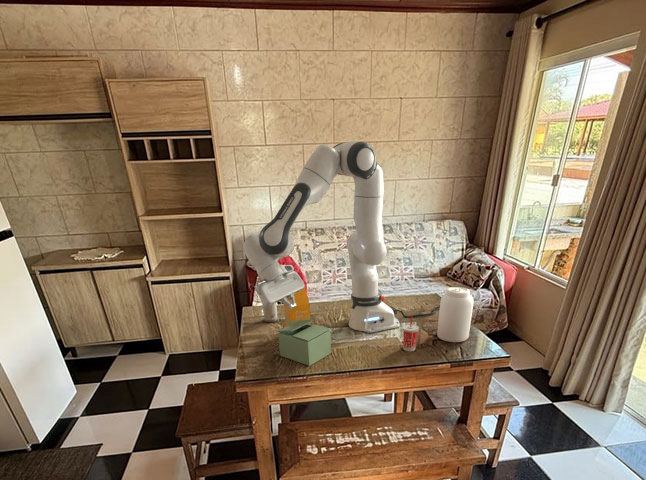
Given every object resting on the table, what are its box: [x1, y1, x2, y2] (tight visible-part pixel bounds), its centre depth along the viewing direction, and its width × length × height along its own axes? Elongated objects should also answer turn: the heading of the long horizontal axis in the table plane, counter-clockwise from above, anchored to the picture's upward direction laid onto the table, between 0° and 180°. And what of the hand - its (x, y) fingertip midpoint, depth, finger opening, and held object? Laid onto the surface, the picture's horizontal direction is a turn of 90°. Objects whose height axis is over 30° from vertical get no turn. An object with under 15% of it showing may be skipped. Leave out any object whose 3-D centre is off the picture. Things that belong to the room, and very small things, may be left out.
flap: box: [277, 319, 315, 333], centre depth 154 cm, size 7×13×1 cm, turn 141°
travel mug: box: [259, 279, 279, 323], centre depth 185 cm, size 6×7×20 cm
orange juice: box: [283, 287, 312, 327], centre depth 169 cm, size 8×9×20 cm
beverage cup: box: [402, 314, 420, 352], centre depth 155 cm, size 6×6×14 cm
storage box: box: [277, 324, 332, 367], centre depth 155 cm, size 15×13×10 cm
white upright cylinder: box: [436, 286, 475, 343], centre depth 162 cm, size 12×12×20 cm
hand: (293, 307), depth 152 cm, fingers closed
